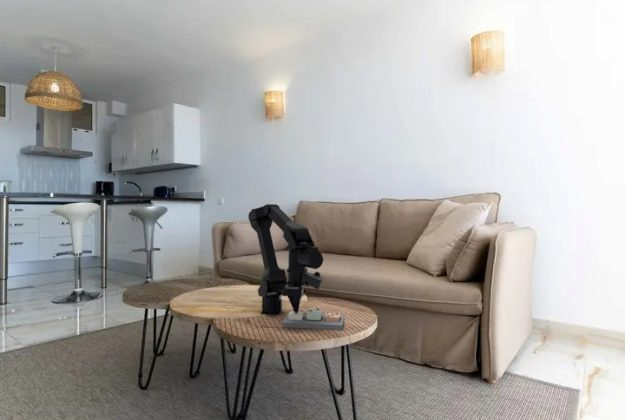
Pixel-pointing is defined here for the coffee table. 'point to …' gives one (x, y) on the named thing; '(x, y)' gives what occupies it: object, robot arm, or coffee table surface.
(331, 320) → the tile three
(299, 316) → the tile one
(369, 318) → the coffee table surface
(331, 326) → the board
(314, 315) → the tile two
